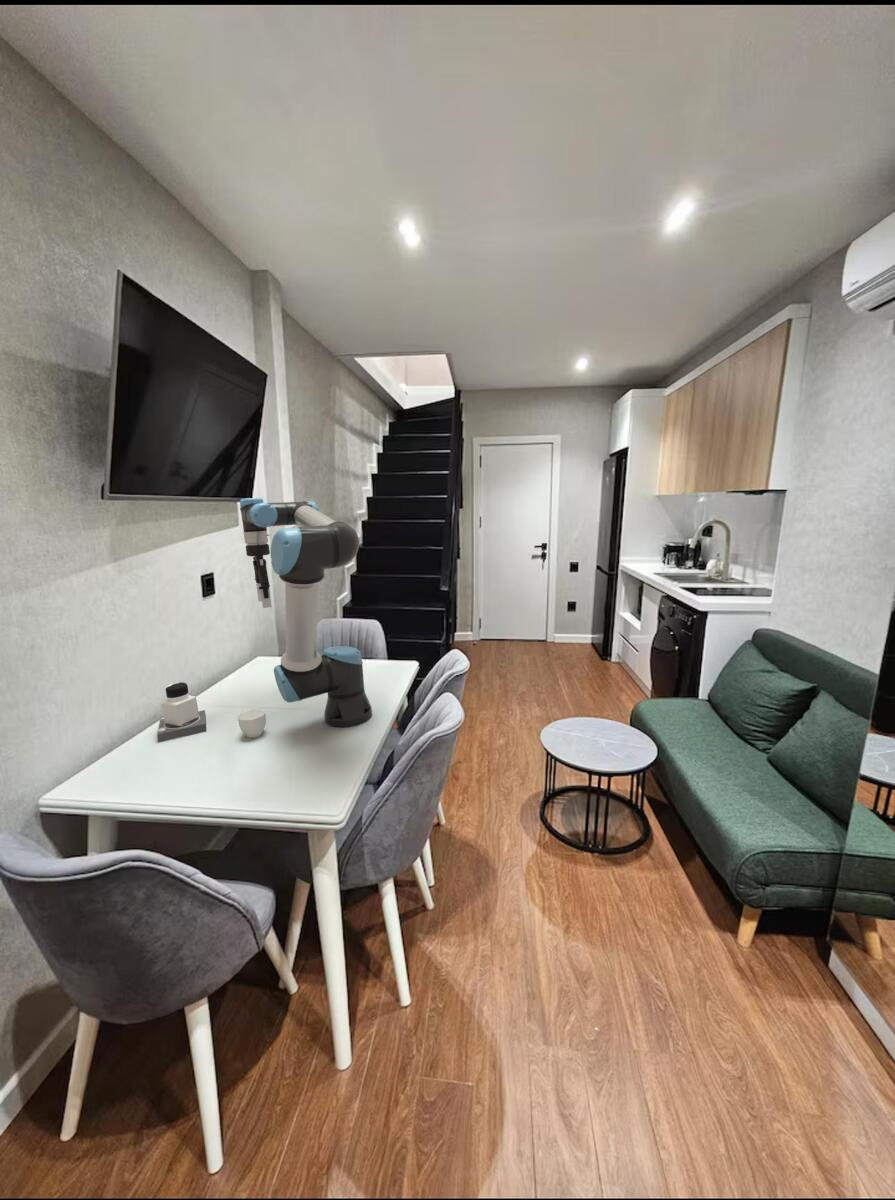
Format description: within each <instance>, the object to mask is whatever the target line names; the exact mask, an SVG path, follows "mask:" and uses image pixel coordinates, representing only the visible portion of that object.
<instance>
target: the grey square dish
mask: <svg viewBox="0 0 895 1200" xmlns="http://www.w3.org/2000/svg"><path fill="white" fill-rule="evenodd" d="M198 712H199V717H198V718H196V719H194V720H191V721H189V722H187V723H185V724H183V725H181V726H177V725H172V724H168V723H165V721H164V718H161V719H160V720H159V723H158V729H157V734H156V735H157V741H158V743H161V741H162V742H166V741H169V740H173V739H179V738H183V737H187V736H191V735H192V736H193V735H196V734H200V733H204V732H207V716H206V711H205V709H204V710H198ZM165 740H166V741H165Z"/></svg>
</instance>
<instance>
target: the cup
mask: <svg viewBox="0 0 895 1200" xmlns="http://www.w3.org/2000/svg"><path fill="white" fill-rule="evenodd" d="M237 721H238V725H239V726H238V727H239V728H240V730H241V732H242V734H244V735H245V736H246V737H247V738H249V739H253V738H258V737H260V736H261V735H262V734H263V732H264V730H265V728H266V725H267V716H266V710H264V709H263V708H262V709H261V708H253V709H248V710H245V711H242V712H241V713H240V714H238V716H237Z"/></svg>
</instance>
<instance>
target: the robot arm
mask: <svg viewBox="0 0 895 1200" xmlns="http://www.w3.org/2000/svg"><path fill="white" fill-rule="evenodd" d="M239 504H240V507H239V510H240V514H241V522H242V528H243V538H244V539H243V540H244V544H246V545H245V551H246V556H247V557H252V559H253V561H252V566H253V569H254V580H255V583H256V592H257V598H258V602H262V604H261V605H262V608H263V609H266V608H272V599H271V591H270V581H269V575H268V569H267V568H268V567H267V560H266V559H265V558H264V556H269V555H270V559H271V567H272V570H273V572H274V573H275V574H276V575H278V577H279V579H280V580H281V581H282V582H283V583H284V584H285V587H284V590H285V597H284V598H285V652H284V653H283V654H282V655H281V657H280V664H277V665H275V666H274V668H273V674H274V680H275V683H276V686H277V688H278V691H279V693H280V696H281V697H282V699H283V701H285V703H295V702H300V701H303V700H306V699H309V698H313V697H317V696H321V695H324V694H327V701H326V704H325V709H324V713H323V715H324V721H325V723H326V724H327V725H329V726H331V727H336V728H347V727H353V726H358V725H360V724H363V723H365V722H367V721H368V720H370V719H371V718H372V715H373V710H372V704H371V703H370V700H369V698H368V696H367V694H366V691H365V681H364V667H363V665H364V664H363V660H362V653H361V651H360V650H359V649H358V648H355V647H351V646H343V645H342V646H341V645H340V646H339V645H338V646H329V647H326V648H324V649H323V651H322V655H321V654H320V652H318V650H317V649H318V617H319V615H318V614H319V613H318V610H319V605H318V603H319V583H321V582H322V581H323V580H324V579H325V571H326V570H330V569H335V568H340V567H343V566H345V565H347V564H349V563H350V562H351V561H352V560H353V559H354V558H355V557H356V555H357V554H358V551H359V548H360V538H359V535H358V533H357V531H356V529H354V528H353V527H352V526H351V525H349V524H348V523H346V522H344V521H340V520H337V521H336V520H334V519H333V518H331V517H329V516H328V515H325V514H324V513H322V512H321V511H320V509H319V506H318V505H317V503H316V502H314V501H308V500H305V501H304V500H303V501H291V502H290V501H289V502H286V501H285V502H284V501H283V502H265V501H264V499H263V498H262V497H252V498H251V497H247V498H241V499H240V500H239ZM295 525H297V526H298V527H297V526H295ZM282 526H292V527H288V528H280V529H279V530H277V531H276V532H275V534H274V535H273V537H272V539H271V545H270V544H269V538H268V537H269V536H270V533H269V532H268V528H270V527H282Z"/></svg>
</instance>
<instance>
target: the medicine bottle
mask: <svg viewBox="0 0 895 1200" xmlns="http://www.w3.org/2000/svg"><path fill="white" fill-rule="evenodd" d="M165 693H166V694H165V696H166V700H163V701H161V704H160V705H161V709H162V715H163V719H164V721H165V723H168V724H172V725H177V726H181V725H183V724H185V723H187V722H189V721H191V720H194V719H196V718H198V717H199V712H198V711H199V708H198V700H197V696H194V695H190V693H189V688H188V684H187V682H183V681H182V682H181V681H180V682H174V683H170V684H169V685H167V686H166V687H165Z"/></svg>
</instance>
